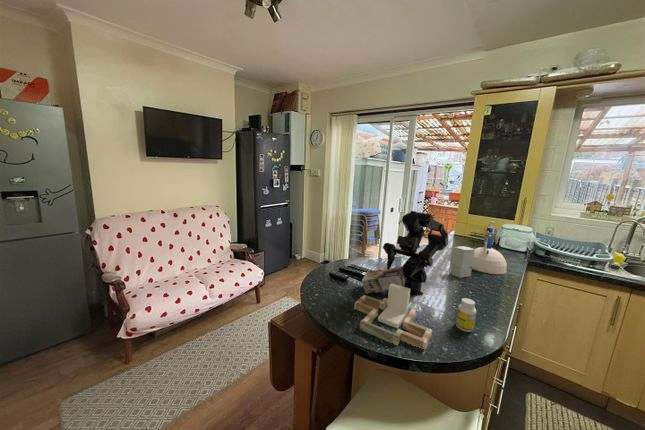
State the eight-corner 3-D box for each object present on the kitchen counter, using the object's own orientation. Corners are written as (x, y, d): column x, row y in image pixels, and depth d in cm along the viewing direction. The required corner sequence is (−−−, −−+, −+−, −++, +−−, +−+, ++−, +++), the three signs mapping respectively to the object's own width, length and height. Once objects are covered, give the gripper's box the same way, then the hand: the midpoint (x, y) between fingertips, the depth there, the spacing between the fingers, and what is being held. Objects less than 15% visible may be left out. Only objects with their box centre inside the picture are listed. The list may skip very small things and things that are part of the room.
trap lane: (366, 297, 104) (367, 290, 104) (437, 322, 89) (438, 314, 89) (340, 321, 87) (341, 313, 87) (422, 356, 72) (423, 347, 72)
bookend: (389, 307, 97) (391, 283, 96) (407, 314, 94) (410, 288, 92) (377, 320, 88) (380, 294, 87) (397, 328, 85) (400, 300, 83)
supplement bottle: (452, 322, 89) (456, 296, 88) (466, 322, 90) (470, 296, 88) (461, 332, 84) (466, 305, 82) (477, 332, 85) (481, 305, 83)
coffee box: (365, 294, 107) (404, 290, 100) (361, 280, 107) (399, 275, 99) (370, 284, 115) (406, 279, 108) (366, 271, 115) (402, 265, 107)
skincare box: (459, 278, 129) (464, 250, 126) (449, 273, 134) (453, 246, 131) (471, 276, 132) (475, 248, 129) (460, 271, 137) (465, 245, 135)
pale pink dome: (505, 266, 150) (510, 236, 146) (507, 278, 132) (513, 244, 129) (465, 258, 160) (470, 230, 157) (463, 268, 143) (468, 237, 140)
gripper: (386, 223, 104) (370, 256, 98) (433, 232, 91) (417, 270, 86) (394, 238, 111) (379, 269, 105) (438, 248, 99) (424, 284, 93)
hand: (398, 272), depth 97 cm, fingers open, 9 cm apart
